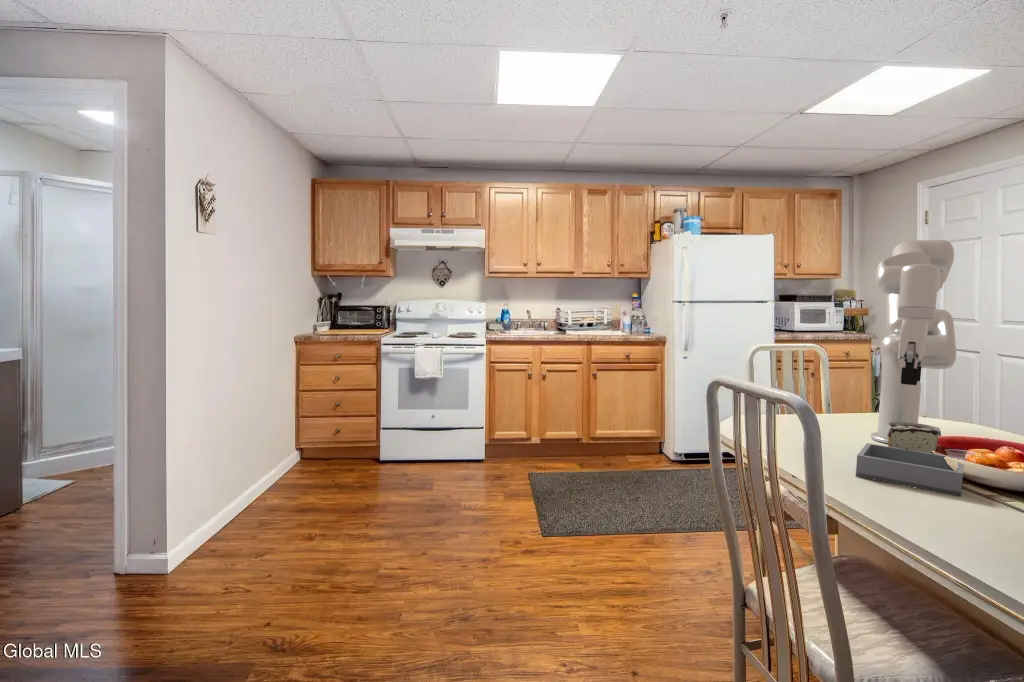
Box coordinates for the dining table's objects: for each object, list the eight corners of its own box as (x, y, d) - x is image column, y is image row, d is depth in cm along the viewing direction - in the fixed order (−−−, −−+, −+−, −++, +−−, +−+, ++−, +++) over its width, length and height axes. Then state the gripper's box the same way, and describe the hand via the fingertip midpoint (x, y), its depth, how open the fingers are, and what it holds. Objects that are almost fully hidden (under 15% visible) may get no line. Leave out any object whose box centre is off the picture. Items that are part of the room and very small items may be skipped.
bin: (865, 462, 139) (867, 443, 138) (962, 479, 127) (964, 458, 126) (855, 476, 127) (857, 455, 127) (960, 496, 115) (963, 473, 115)
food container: (922, 460, 142) (925, 422, 141) (938, 467, 136) (942, 428, 135) (872, 458, 143) (875, 420, 142) (885, 465, 137) (888, 425, 136)
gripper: (901, 313, 145) (896, 377, 147) (893, 314, 132) (888, 384, 133) (937, 314, 140) (931, 381, 142) (932, 315, 127) (926, 388, 129)
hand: (910, 382), depth 138 cm, fingers open, 9 cm apart
